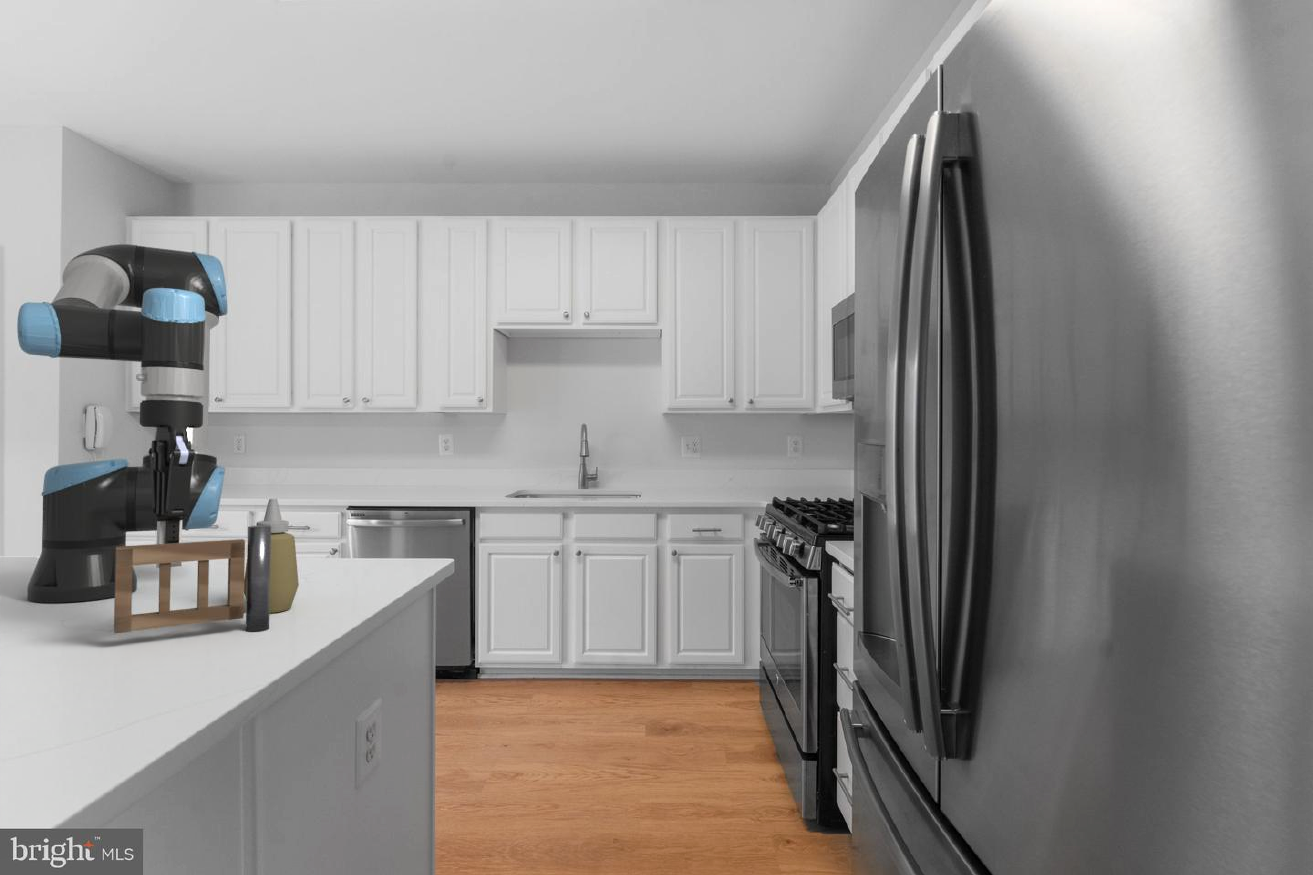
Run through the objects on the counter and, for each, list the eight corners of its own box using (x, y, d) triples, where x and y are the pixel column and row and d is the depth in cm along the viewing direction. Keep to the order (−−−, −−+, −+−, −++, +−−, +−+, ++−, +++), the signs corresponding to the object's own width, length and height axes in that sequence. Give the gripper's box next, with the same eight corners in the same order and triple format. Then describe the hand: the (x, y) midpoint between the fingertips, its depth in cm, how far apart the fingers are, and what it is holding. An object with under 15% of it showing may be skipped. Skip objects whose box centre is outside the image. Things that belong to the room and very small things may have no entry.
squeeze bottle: (275, 617, 116) (277, 502, 116) (230, 614, 118) (232, 500, 118) (309, 606, 124) (311, 498, 124) (267, 603, 125) (269, 496, 126)
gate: (113, 630, 99) (115, 546, 99) (241, 616, 108) (242, 539, 108) (114, 633, 98) (116, 548, 98) (243, 618, 107) (245, 540, 107)
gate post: (244, 628, 109) (246, 526, 109) (266, 625, 111) (268, 524, 111) (247, 632, 107) (249, 528, 107) (271, 629, 108) (273, 527, 109)
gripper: (129, 399, 107) (125, 563, 107) (153, 396, 98) (149, 575, 98) (188, 402, 113) (185, 558, 112) (216, 399, 104) (213, 569, 103)
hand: (168, 566), depth 105 cm, fingers closed
